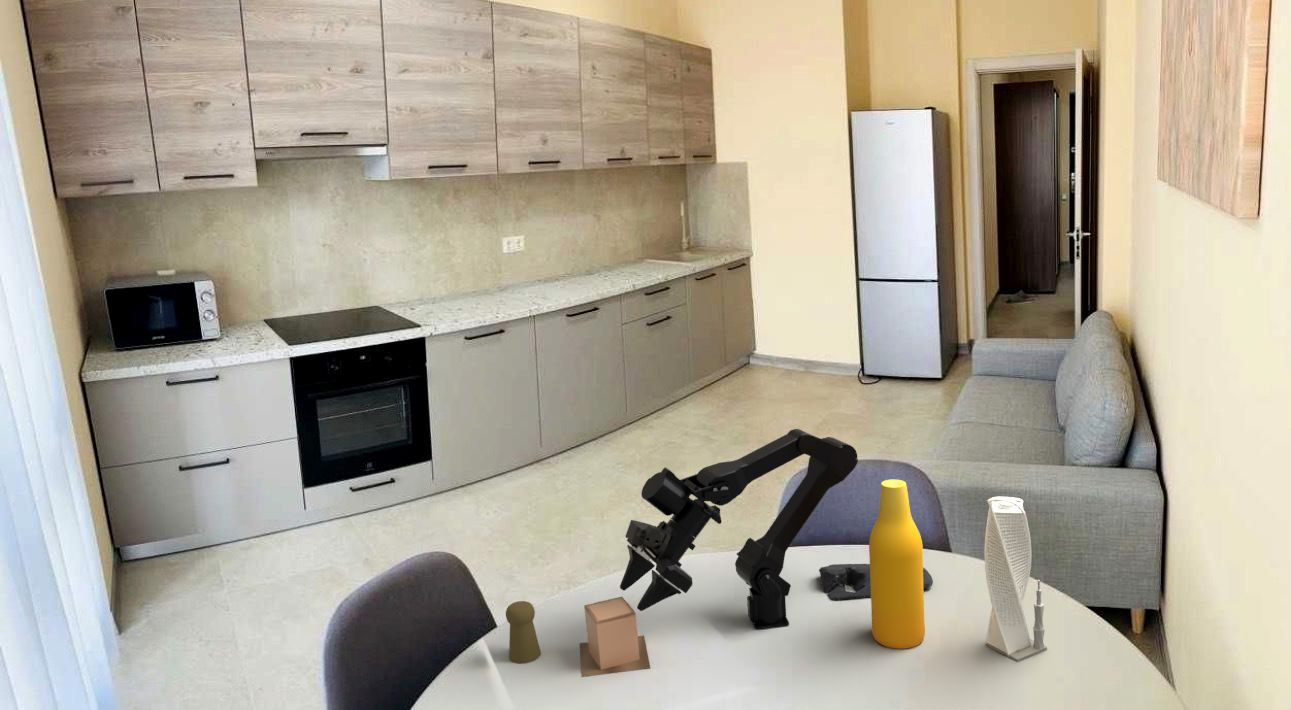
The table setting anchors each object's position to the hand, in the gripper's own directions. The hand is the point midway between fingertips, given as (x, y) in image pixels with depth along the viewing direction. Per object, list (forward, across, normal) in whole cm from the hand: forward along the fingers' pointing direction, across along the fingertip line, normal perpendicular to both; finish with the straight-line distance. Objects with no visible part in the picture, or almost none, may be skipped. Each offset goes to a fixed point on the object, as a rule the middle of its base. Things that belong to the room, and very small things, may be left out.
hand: (630, 599), depth 171 cm
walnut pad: (+10, 0, +5) cm, 12 cm away
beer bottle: (-24, +17, +39) cm, 49 cm away
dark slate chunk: (-30, -4, +46) cm, 55 cm away
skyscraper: (-34, +29, +49) cm, 66 cm away
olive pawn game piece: (+21, -8, -5) cm, 23 cm away
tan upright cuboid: (+10, 0, +4) cm, 11 cm away
